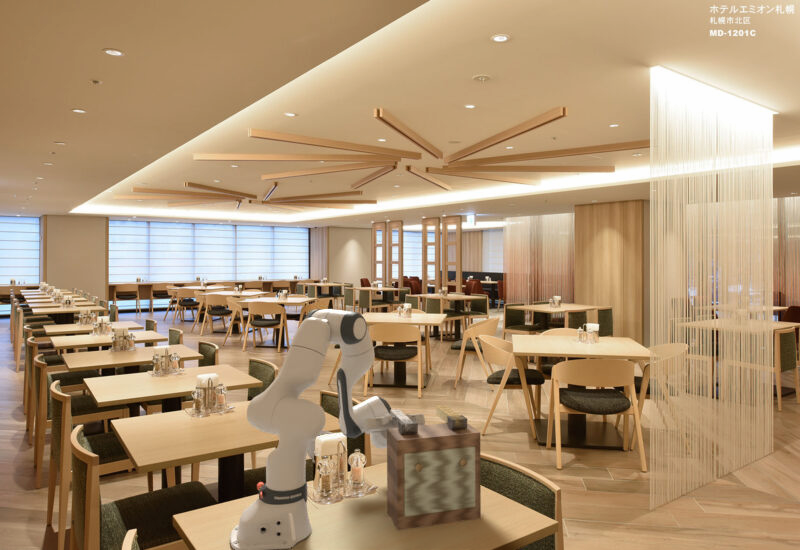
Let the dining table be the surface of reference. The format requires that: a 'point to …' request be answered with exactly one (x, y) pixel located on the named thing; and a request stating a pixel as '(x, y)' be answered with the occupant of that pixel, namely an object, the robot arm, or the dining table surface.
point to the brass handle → (451, 418)
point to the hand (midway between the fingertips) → (399, 417)
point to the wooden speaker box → (433, 476)
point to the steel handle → (404, 422)
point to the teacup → (312, 446)
